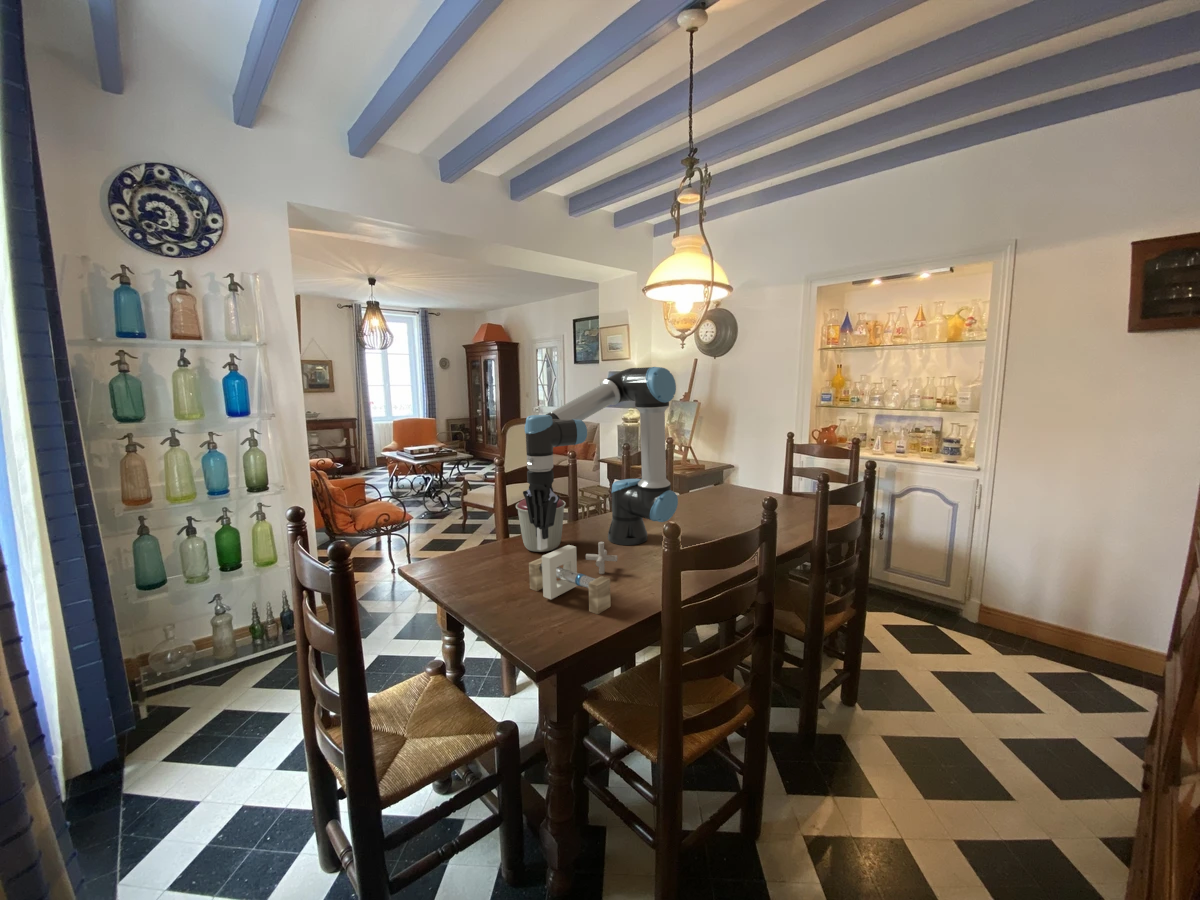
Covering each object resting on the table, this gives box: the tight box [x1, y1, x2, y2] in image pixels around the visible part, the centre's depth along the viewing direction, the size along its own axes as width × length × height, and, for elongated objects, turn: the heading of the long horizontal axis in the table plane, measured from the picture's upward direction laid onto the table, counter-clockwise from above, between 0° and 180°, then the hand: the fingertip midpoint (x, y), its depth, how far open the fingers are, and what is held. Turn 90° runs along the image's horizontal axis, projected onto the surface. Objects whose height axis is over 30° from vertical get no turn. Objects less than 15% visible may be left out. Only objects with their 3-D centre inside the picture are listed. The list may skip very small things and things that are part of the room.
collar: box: [541, 544, 578, 600], centre depth 136 cm, size 3×11×12 cm, turn 141°
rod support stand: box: [528, 557, 612, 615], centre depth 135 cm, size 26×6×8 cm, turn 51°
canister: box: [515, 498, 567, 553], centre depth 174 cm, size 18×18×21 cm
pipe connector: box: [585, 541, 618, 575], centre depth 151 cm, size 10×10×10 cm
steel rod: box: [539, 563, 596, 590], centre depth 134 cm, size 25×3×3 cm, turn 51°
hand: (542, 548), depth 139 cm, fingers closed
